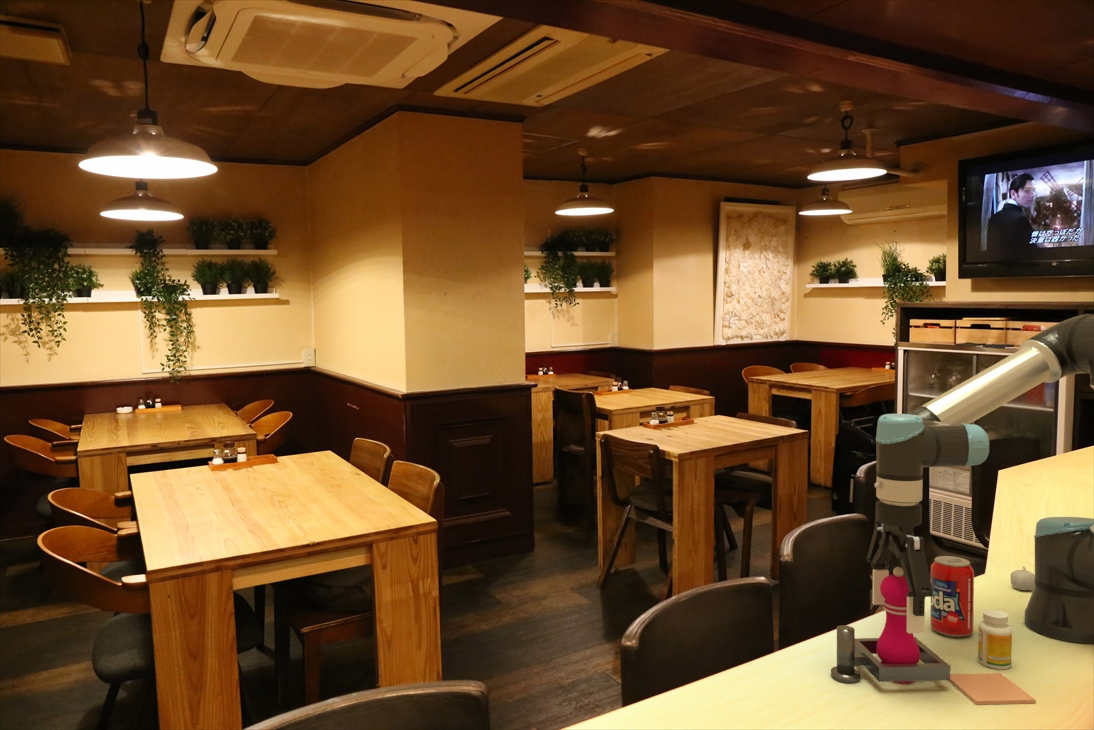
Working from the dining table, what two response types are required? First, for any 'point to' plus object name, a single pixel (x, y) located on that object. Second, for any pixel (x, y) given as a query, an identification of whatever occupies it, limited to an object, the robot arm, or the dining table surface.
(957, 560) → the soda can
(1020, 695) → the terracotta tile
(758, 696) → the dining table surface
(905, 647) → the pepper mill
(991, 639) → the supplement bottle
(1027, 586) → the garlic
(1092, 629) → the robot arm
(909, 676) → the square frame with post
